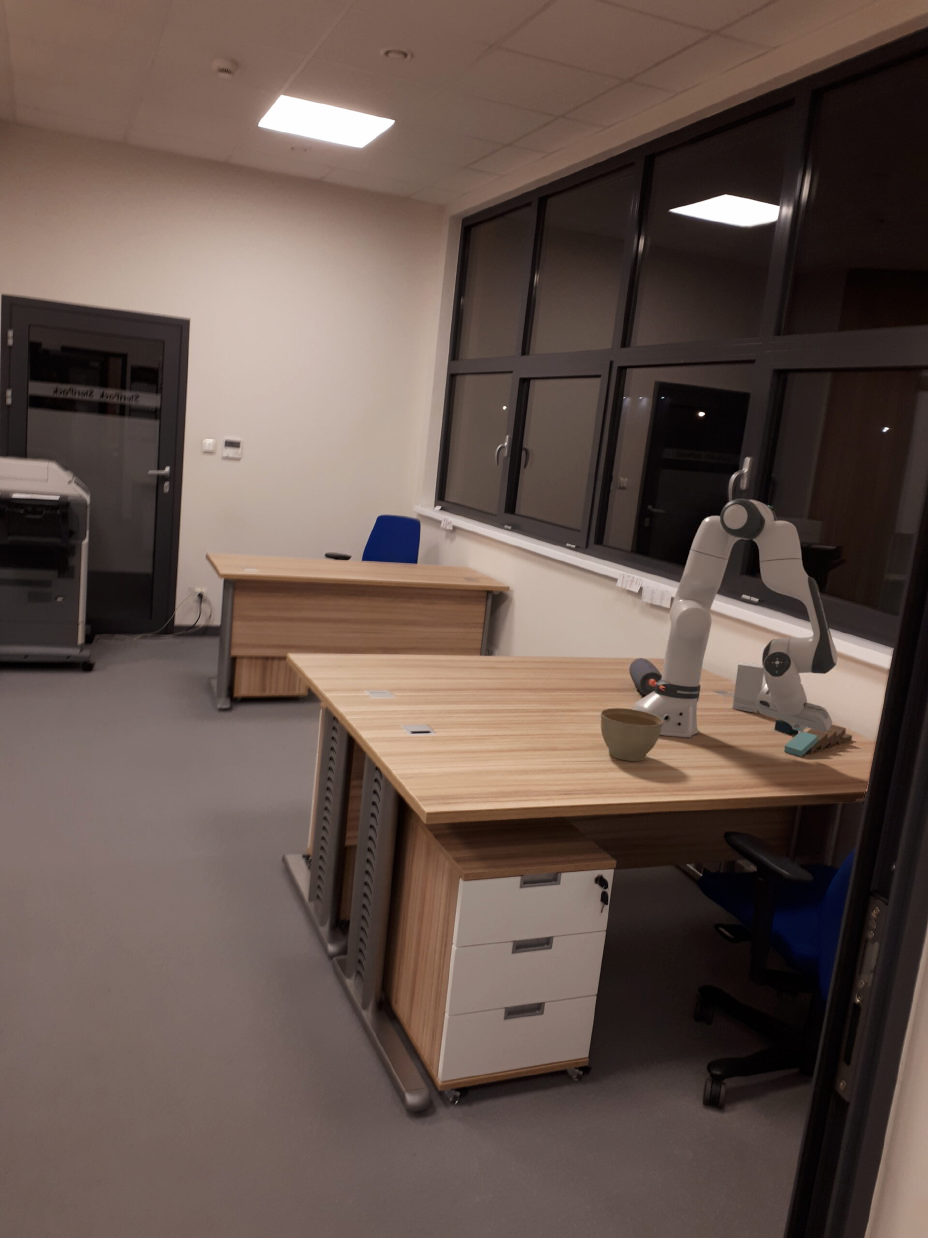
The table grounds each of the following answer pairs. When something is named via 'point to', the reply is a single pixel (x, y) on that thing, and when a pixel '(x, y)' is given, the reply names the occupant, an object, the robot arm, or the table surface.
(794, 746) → the teal domino
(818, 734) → the walnut domino
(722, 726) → the table surface
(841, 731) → the walnut domino
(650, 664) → the bluetooth speaker
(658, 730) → the planter bowl
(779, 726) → the watch
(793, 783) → the table surface
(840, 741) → the walnut domino
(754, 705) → the skincare box
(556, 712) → the table surface
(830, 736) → the walnut domino
